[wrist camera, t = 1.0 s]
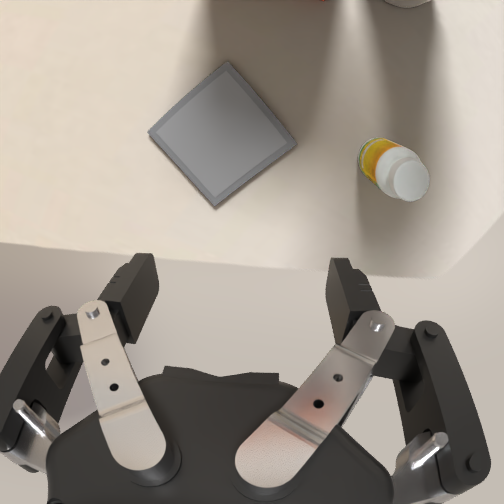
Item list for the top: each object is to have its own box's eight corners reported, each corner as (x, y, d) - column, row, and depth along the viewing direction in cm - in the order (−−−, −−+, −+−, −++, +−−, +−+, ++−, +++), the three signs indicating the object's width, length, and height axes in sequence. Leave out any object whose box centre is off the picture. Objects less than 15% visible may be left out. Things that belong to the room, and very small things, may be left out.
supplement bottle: (402, 145, 31) (443, 164, 22) (389, 184, 33) (424, 215, 25) (363, 130, 30) (398, 144, 22) (350, 172, 33) (379, 200, 24)
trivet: (228, 61, 27) (227, 60, 26) (296, 142, 31) (297, 144, 31) (149, 131, 31) (146, 132, 30) (215, 204, 35) (214, 206, 35)
